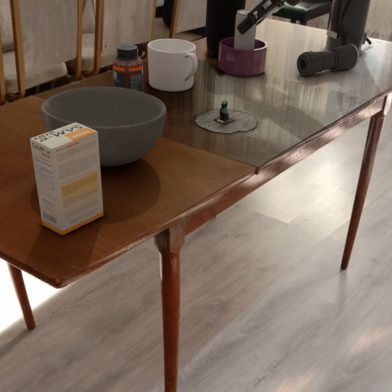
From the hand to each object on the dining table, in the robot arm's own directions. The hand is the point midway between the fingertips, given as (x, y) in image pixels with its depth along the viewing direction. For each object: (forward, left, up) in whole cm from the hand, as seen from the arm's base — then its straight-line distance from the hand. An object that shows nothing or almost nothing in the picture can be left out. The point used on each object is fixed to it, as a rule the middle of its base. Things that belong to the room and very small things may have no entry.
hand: (246, 26), depth 144 cm
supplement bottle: (+36, -5, -10) cm, 38 cm away
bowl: (+59, +9, -10) cm, 61 cm away
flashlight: (-13, +16, -10) cm, 23 cm away
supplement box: (+78, +19, -10) cm, 81 cm away
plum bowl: (0, 0, -9) cm, 9 cm away
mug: (+20, -5, -10) cm, 23 cm away
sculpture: (+30, +15, -10) cm, 35 cm away
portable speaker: (-7, -10, -10) cm, 16 cm away
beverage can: (0, 0, -9) cm, 9 cm away
